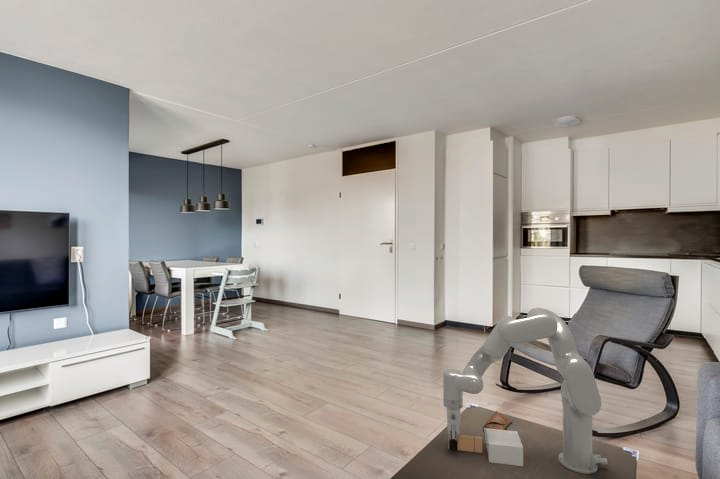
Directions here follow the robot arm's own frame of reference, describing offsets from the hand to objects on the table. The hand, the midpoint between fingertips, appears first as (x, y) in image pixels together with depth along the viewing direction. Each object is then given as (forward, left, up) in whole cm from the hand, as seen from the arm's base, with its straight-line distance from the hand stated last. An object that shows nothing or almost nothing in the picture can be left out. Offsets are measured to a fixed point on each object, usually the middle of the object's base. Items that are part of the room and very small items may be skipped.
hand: (453, 447), depth 149 cm
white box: (-19, 0, -1) cm, 19 cm away
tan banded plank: (-4, 0, 0) cm, 5 cm away
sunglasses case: (-20, -23, -1) cm, 31 cm away
